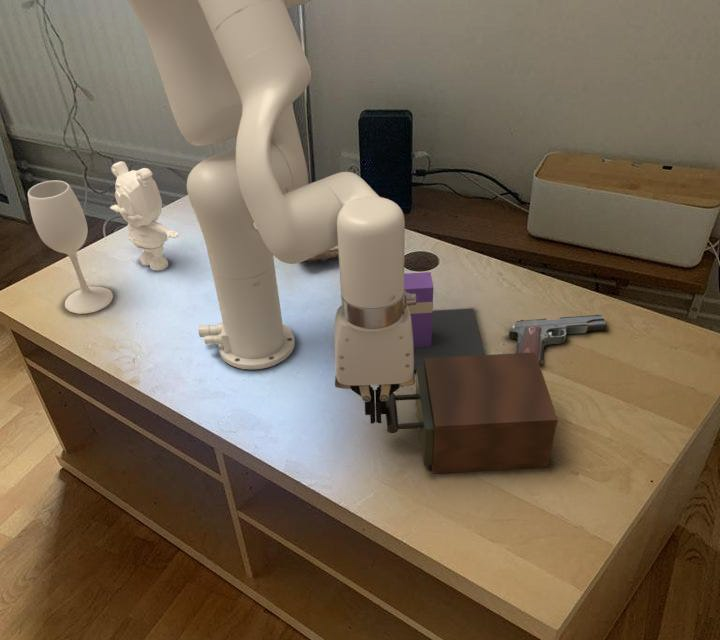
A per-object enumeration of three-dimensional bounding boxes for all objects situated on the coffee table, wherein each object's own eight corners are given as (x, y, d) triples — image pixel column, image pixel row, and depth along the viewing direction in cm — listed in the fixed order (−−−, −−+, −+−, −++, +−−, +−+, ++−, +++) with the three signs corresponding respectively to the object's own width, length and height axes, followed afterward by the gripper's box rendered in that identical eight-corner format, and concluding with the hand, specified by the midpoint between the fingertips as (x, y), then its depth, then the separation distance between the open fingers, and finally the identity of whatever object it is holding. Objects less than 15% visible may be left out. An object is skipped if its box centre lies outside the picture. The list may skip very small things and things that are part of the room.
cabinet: (432, 473, 99) (435, 426, 93) (422, 405, 109) (424, 358, 102) (547, 467, 99) (557, 419, 93) (527, 399, 109) (535, 352, 102)
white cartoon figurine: (171, 289, 134) (144, 187, 120) (107, 255, 143) (75, 157, 129) (202, 271, 138) (179, 171, 124) (138, 240, 147) (110, 143, 133)
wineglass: (55, 309, 131) (9, 197, 116) (84, 284, 136) (44, 174, 121) (94, 318, 128) (52, 204, 113) (122, 292, 134) (86, 181, 118)
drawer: (388, 467, 99) (388, 431, 94) (383, 405, 108) (382, 368, 103) (530, 460, 99) (537, 423, 94) (513, 398, 108) (518, 361, 103)
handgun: (514, 369, 114) (515, 359, 112) (499, 328, 121) (500, 319, 120) (622, 362, 114) (625, 352, 113) (600, 322, 122) (603, 313, 121)
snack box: (400, 348, 118) (400, 289, 110) (398, 332, 121) (398, 273, 113) (431, 346, 118) (433, 287, 110) (428, 330, 121) (430, 271, 113)
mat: (360, 375, 114) (360, 372, 114) (357, 317, 125) (357, 314, 125) (486, 368, 114) (487, 365, 114) (472, 311, 125) (472, 308, 125)
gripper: (431, 284, 90) (426, 397, 103) (312, 289, 90) (322, 401, 103) (437, 320, 85) (431, 433, 98) (310, 325, 85) (321, 437, 98)
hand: (375, 416), depth 101 cm, fingers closed
